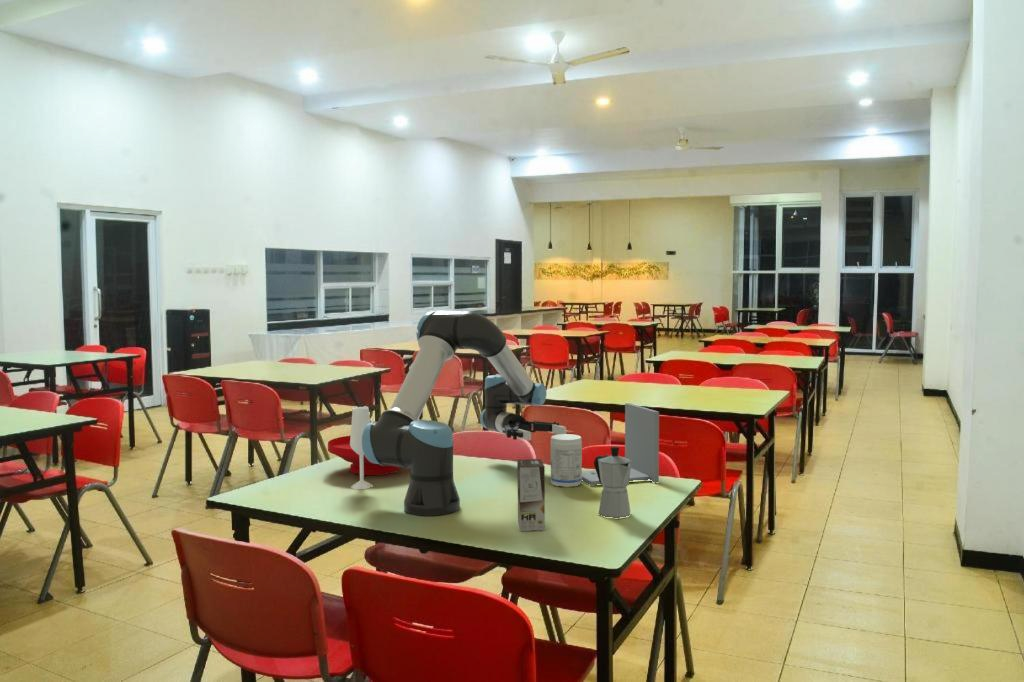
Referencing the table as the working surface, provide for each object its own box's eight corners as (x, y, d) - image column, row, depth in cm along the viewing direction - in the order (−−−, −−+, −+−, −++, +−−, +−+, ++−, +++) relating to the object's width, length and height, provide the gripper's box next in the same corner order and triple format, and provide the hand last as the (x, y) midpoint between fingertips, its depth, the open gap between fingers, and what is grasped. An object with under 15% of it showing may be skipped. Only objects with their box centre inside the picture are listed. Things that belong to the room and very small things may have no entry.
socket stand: (658, 482, 238) (659, 411, 237) (595, 488, 232) (595, 415, 230) (629, 469, 257) (629, 403, 256) (569, 474, 251) (569, 406, 249)
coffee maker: (643, 518, 201) (643, 449, 200) (616, 523, 197) (616, 452, 196) (608, 504, 214) (608, 439, 213) (582, 509, 210) (582, 443, 209)
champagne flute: (377, 486, 236) (376, 408, 234) (357, 490, 231) (356, 410, 230) (366, 482, 241) (365, 405, 239) (346, 486, 237) (345, 407, 235)
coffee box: (545, 531, 190) (545, 466, 189) (519, 531, 190) (519, 466, 189) (541, 520, 199) (541, 458, 199) (516, 521, 199) (516, 459, 198)
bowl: (332, 484, 239) (332, 452, 238) (324, 464, 268) (323, 435, 267) (430, 476, 249) (429, 445, 248) (411, 458, 277) (411, 430, 277)
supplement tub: (551, 480, 243) (551, 433, 242) (581, 480, 242) (581, 433, 241) (550, 487, 233) (549, 439, 232) (581, 488, 232) (581, 439, 231)
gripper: (541, 431, 270) (579, 440, 252) (479, 439, 256) (514, 450, 239) (541, 409, 269) (579, 418, 252) (479, 417, 256) (514, 426, 238)
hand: (547, 433), depth 245 cm, fingers open, 13 cm apart
